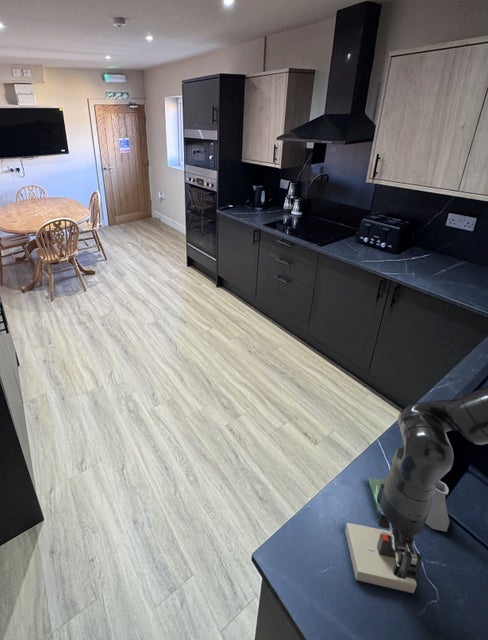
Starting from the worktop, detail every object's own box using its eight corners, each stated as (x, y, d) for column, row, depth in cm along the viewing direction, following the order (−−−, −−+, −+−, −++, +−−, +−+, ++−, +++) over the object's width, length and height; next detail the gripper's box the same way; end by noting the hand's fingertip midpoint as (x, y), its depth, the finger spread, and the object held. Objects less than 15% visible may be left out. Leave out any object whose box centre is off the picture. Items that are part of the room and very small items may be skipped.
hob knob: (399, 551, 70) (404, 537, 68) (402, 559, 68) (407, 545, 67) (376, 546, 71) (380, 532, 69) (378, 554, 69) (382, 540, 68)
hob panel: (400, 542, 74) (403, 533, 73) (418, 594, 65) (422, 585, 64) (344, 530, 76) (346, 521, 75) (355, 580, 68) (358, 570, 67)
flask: (412, 493, 84) (420, 465, 80) (447, 508, 80) (457, 480, 77) (414, 520, 78) (423, 492, 75) (451, 538, 74) (462, 509, 71)
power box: (399, 489, 85) (403, 478, 83) (413, 524, 77) (417, 513, 76) (367, 483, 86) (369, 473, 85) (377, 517, 79) (380, 506, 77)
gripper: (373, 460, 71) (361, 509, 76) (399, 535, 58) (383, 588, 63) (410, 466, 70) (396, 515, 75) (446, 545, 57) (426, 598, 62)
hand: (390, 549), depth 69 cm, fingers open, 8 cm apart
